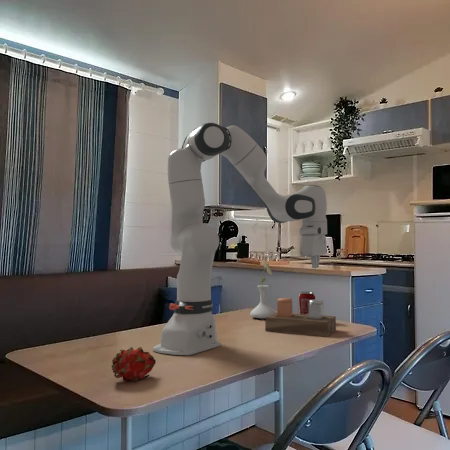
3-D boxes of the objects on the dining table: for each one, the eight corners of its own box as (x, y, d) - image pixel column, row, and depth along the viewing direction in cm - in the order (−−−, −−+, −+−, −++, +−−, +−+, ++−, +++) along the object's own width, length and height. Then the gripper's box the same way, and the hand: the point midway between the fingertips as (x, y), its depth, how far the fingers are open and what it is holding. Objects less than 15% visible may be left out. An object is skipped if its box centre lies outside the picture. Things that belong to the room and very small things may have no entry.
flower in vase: (274, 320, 184) (273, 260, 185) (247, 319, 187) (247, 260, 188) (278, 315, 197) (277, 259, 198) (253, 314, 200) (252, 259, 201)
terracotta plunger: (289, 319, 163) (289, 300, 163) (276, 318, 166) (275, 299, 166) (293, 317, 168) (293, 298, 168) (280, 316, 170) (280, 297, 170)
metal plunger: (321, 321, 158) (321, 301, 158) (307, 320, 160) (307, 301, 160) (325, 319, 162) (325, 300, 163) (311, 318, 165) (311, 299, 165)
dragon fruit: (106, 390, 105) (151, 387, 112) (121, 375, 100) (167, 373, 107) (102, 356, 110) (145, 355, 117) (116, 340, 105) (160, 340, 112)
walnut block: (327, 336, 153) (327, 321, 153) (265, 331, 164) (265, 317, 164) (335, 330, 164) (335, 316, 164) (277, 325, 174) (276, 312, 175)
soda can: (317, 323, 178) (316, 293, 178) (300, 323, 178) (299, 293, 178) (314, 320, 184) (313, 291, 185) (297, 320, 185) (297, 291, 185)
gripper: (314, 230, 173) (314, 266, 173) (297, 229, 155) (298, 269, 154) (330, 230, 170) (331, 266, 170) (315, 229, 152) (316, 269, 151)
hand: (315, 268), depth 162 cm, fingers closed
